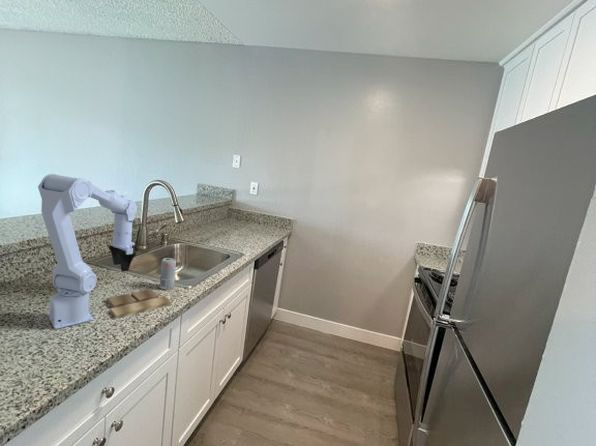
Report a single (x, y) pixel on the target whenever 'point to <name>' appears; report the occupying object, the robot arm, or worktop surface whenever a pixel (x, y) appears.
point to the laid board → (139, 307)
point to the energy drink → (168, 273)
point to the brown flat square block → (121, 300)
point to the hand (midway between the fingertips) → (121, 267)
